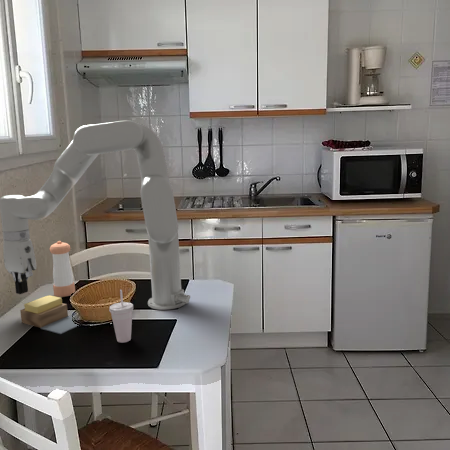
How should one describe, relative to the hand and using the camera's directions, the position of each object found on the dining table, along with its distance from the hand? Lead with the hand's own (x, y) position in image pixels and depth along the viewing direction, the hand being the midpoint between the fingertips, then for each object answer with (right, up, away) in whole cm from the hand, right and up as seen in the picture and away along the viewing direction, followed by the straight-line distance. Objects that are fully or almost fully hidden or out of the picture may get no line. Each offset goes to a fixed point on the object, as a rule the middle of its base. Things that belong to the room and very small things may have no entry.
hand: (22, 292), depth 155 cm
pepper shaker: (+7, -3, +21) cm, 22 cm away
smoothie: (+36, -10, -20) cm, 43 cm away
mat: (+16, -8, -8) cm, 20 cm away
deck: (+8, -8, -3) cm, 12 cm away
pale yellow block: (+8, -4, -4) cm, 10 cm away
